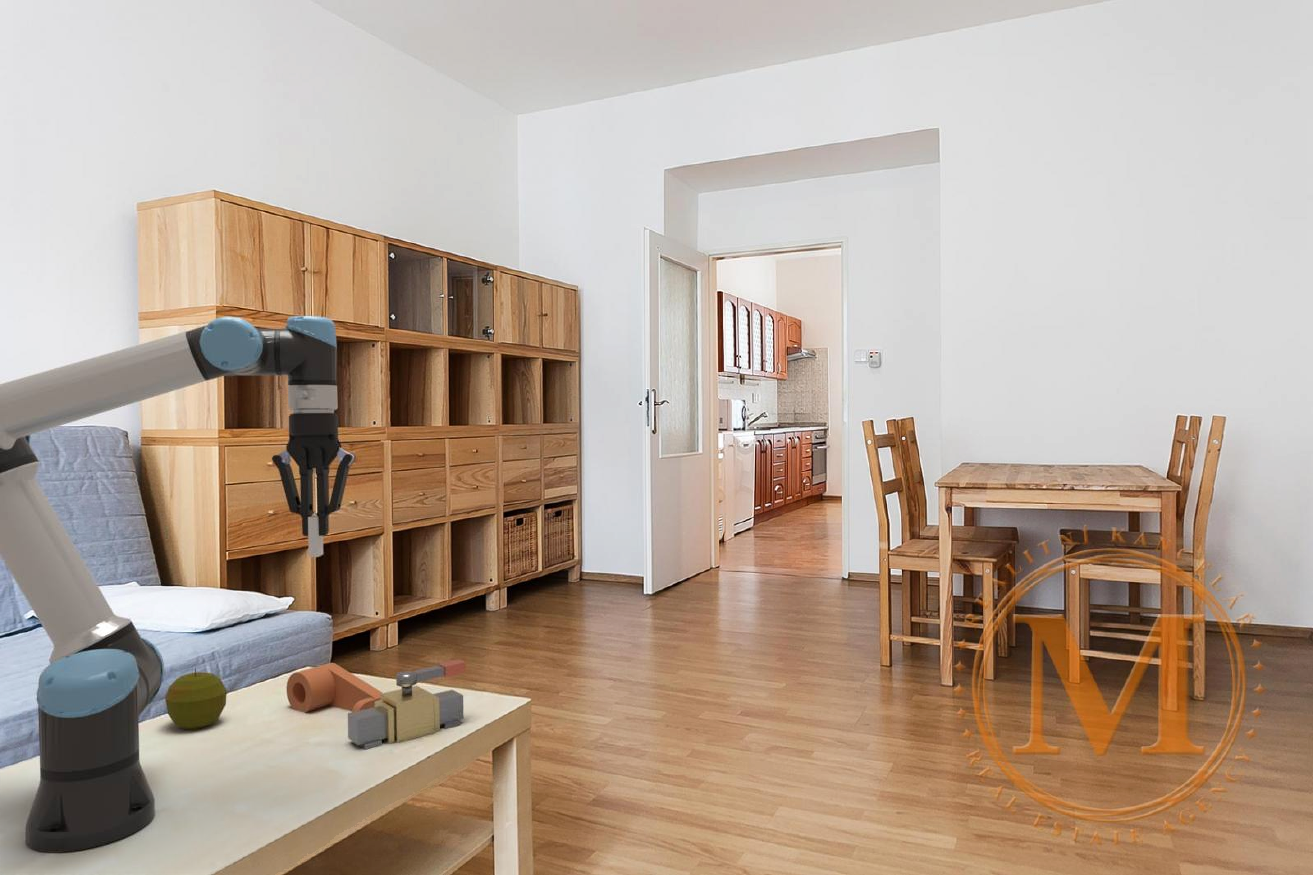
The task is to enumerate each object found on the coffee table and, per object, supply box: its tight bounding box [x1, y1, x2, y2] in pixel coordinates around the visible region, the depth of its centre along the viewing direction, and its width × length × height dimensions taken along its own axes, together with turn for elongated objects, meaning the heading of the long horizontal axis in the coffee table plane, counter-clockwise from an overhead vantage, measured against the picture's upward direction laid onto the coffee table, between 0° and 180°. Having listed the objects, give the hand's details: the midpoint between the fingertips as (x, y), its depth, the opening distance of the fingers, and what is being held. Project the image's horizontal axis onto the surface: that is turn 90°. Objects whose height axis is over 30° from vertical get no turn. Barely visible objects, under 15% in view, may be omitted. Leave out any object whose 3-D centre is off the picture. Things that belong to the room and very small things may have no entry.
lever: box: [395, 658, 467, 688], centre depth 161 cm, size 13×4×2 cm, turn 134°
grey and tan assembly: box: [347, 685, 465, 750], centre depth 158 cm, size 20×7×8 cm, turn 130°
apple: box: [164, 668, 228, 731], centre depth 162 cm, size 10×10×11 cm
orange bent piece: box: [286, 662, 383, 714], centre depth 170 cm, size 20×8×8 cm, turn 57°
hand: (316, 555), depth 143 cm, fingers closed
